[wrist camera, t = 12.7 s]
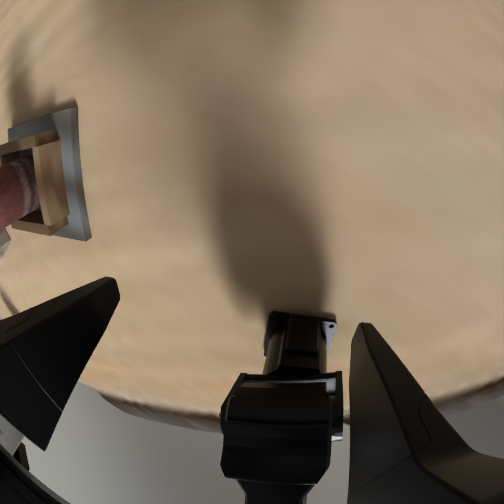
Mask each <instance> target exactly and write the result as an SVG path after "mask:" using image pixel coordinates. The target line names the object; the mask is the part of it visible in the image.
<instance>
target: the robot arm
mask: <svg viewBox="0 0 504 504" xmlns="http://www.w3.org/2000/svg"><path fill="white" fill-rule="evenodd" d="M119 300H120V293H119V289H118V285H117V282H116V280H115V279H114V278H111V277H103V278H101V279H98V280H96V281H94V282H91V283H89V284H86V285H84V286H81V287H79V288H77V289H74V290H72V291H70V292H67V293H65V294H62V295H60V296H58V297H55V298H53V299H51V300H48V301H46V302H44V303H41V304H39V305H37V306H35V307H32V308H30V309H28V310H25V311H23V312H21V313H18V314H16V315H13V316H11V317H8V318H5V319H3V320H0V504H70V503H68V502H67V501H66V500H64V499H63V498H61V497H60V496H59V495H57V494H56V493H55V492H53V491H52V490H50V489H49V488H48V487H47V486H46V485H44V484H43V483H42V482H41V481H39V480H38V479H37V478H36V477H34V476H33V475H32V474H31V473H30V472H29V464H28V460H27V455H26V449H25V445H24V444H23V443H22V442H21V441H22V440H23V438H24V436H25V437H26V438H27V439H29V440H30V441H31V442H32V443H34V444H35V445H36V446H38V447H39V448H40V449H42V450H43V451H45V450H46V449H47V446H48V444H49V441H50V439H51V436H52V434H53V432H54V430H55V427H56V425H57V423H58V421H59V418H60V416H61V414H62V411H63V410H64V407H65V405H66V403H67V401H68V399H69V397H70V395H71V393H72V391H73V389H74V387H75V385H76V383H77V381H78V379H79V377H80V375H81V373H82V372H83V370H84V368H85V366H86V364H87V362H88V360H89V359H90V357H91V355H92V353H93V351H94V350H95V348H96V346H97V344H98V343H99V341H100V339H101V337H102V336H103V334H104V332H105V330H106V328H107V326H108V324H109V322H110V319H111V317H112V315H113V313H114V311H115V309H116V307H117V305H118V303H119ZM273 316H276V317H273ZM331 324H333V325H331ZM336 327H337V322H336V321H335V320H332V319H324V318H317V317H309V316H302V315H295V314H289V313H282V312H275V311H273V312H271V313H270V315H269V321H268V328H267V335H266V343H265V350H264V356H265V357H266V360H265V365H264V370H263V374H247V373H240V375H239V377H238V379H237V380H236V382H235V384H234V385H233V387H232V389H231V391H230V392H229V394H228V396H227V397H226V399H225V401H224V403H223V404H222V406H221V412H220V415H219V417H220V422H221V430H222V433H223V435H224V442H223V451H222V457H221V463H220V465H221V468H222V471H223V473H224V476H225V477H226V478H232V479H236V480H237V482H238V483H239V485H240V487H241V488H242V490H243V491H244V493H245V504H306V500H307V494H308V492H309V491H310V490H311V489H312V487H314V485H316V484H317V483H318V482H319V480H320V479H321V478H322V476H323V475H324V473H325V472H326V470H327V469H328V468H329V465H330V457H331V442H332V441H342V432H343V382H342V371H336V372H332V373H327V352H328V349H329V346H330V344H331V341H332V338H333V336H334V333H335V330H336ZM349 397H350V467H349V468H350V469H349V487H348V491H349V492H348V499H347V504H504V459H502V458H497V457H493V456H489V455H485V454H481V453H479V452H477V451H475V450H473V449H472V448H471V447H469V445H468V444H467V443H466V442H465V441H464V440H463V439H462V437H461V436H460V435H459V434H458V433H457V432H456V431H455V430H454V428H453V427H452V426H451V425H450V424H449V422H448V421H447V420H446V419H445V418H444V416H443V415H442V414H441V413H440V412H439V410H438V409H437V408H436V406H435V405H434V404H433V403H432V401H431V400H430V398H429V397H428V396H427V394H426V393H425V394H424V390H423V389H422V388H421V386H420V385H419V384H418V382H417V381H416V380H415V378H414V377H413V376H412V374H411V373H410V372H409V370H408V369H407V368H406V366H405V365H404V364H403V363H402V361H401V360H400V359H399V357H398V356H397V355H396V354H395V352H394V351H393V350H392V348H391V347H390V346H389V345H388V343H387V342H386V341H385V340H384V338H383V337H382V336H381V335H380V333H379V332H378V331H377V330H376V328H375V327H374V326H373V325H372V324H371V323H364V322H361V323H359V325H358V327H357V329H356V332H355V334H354V336H353V339H352V343H351V360H350V376H349Z"/></svg>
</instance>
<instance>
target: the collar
mask: <svg viewBox="0 0 504 504" xmlns="http://www.w3.org/2000/svg"><path fill="white" fill-rule="evenodd" d="M29 155H33V159H34V168H35V176H36V183H37V189H38V195H39V200H40V206H41V207H39V208H37V209H36V210H34V211H32V212H30V213H28V214H27V215H25V216H23V217H22V218H20V219H18V220H17V221H15V222H13V223H12V224H11V226H12V228H14V229H19V230H23V231H28V232H33V233H38V234H43V235H48V236H51V235H55V236H60V237H65V238H70V239H75V240H81V241H87V240H89V239H90V238H91V232H90V227H89V222H88V216H87V210H86V204H85V197H84V190H83V183H82V174H81V164H80V152H79V136H78V107H74V108H69V109H65V110H62V111H58V112H55V113H52V114H48V115H45V116H42V117H39V118H36V119H33V120H30V121H28V122H25V123H22V124H20V125H17V126H15V127H12V128H10V129H8V143H6V144H3V145H0V166H3V165H5V164H8V163H10V162H13V161H15V160H18V159H20V158H23V157H26V156H29Z"/></svg>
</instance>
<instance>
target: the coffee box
mask: <svg viewBox="0 0 504 504" xmlns="http://www.w3.org/2000/svg"><path fill="white" fill-rule="evenodd" d="M10 241H11V240H10V238H9V236H8V234H7V232H6V230H5V228H4V229H2V230H0V259H1V258H2V257H3V255H4V253H5V251H6V248H7V246H8V245H9V243H10Z"/></svg>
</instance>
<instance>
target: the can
mask: <svg viewBox="0 0 504 504" xmlns="http://www.w3.org/2000/svg"><path fill="white" fill-rule="evenodd" d="M39 207H41V206H40V200H39V195H38V189H37V183H36V176H35V168H34V159H33V155H29V156H26V157H23V158H20V159H18V160H15V161H13V162H10V163H8V164H5V165H3V166H0V230H2V229H4V228H5V227H7V226H8V225H10V224H12V223H13V222H15V221H17V220H18V219H20V218H22V217H23V216H25V215H27V214H28V213H30V212H32V211H34V210H36V209H37V208H39Z"/></svg>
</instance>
